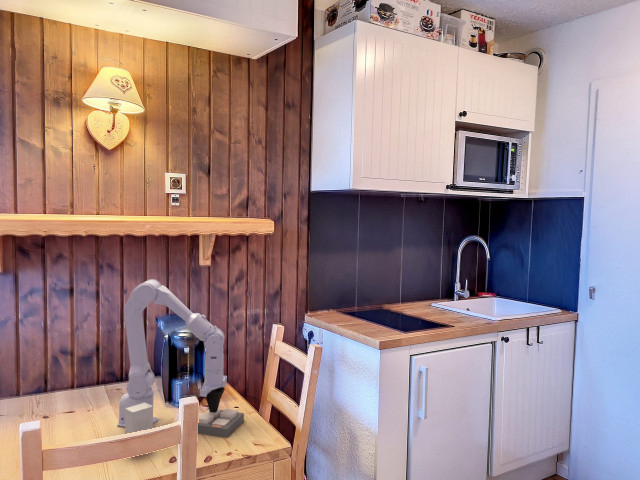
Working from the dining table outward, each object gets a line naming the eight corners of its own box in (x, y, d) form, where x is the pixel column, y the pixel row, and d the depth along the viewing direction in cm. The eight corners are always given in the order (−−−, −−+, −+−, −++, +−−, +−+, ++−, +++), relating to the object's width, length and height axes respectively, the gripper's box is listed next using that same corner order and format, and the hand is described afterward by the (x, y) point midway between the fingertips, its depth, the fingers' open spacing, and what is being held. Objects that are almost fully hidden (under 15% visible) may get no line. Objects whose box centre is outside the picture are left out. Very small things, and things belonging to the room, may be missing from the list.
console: (188, 431, 140) (188, 422, 140) (208, 415, 152) (208, 407, 152) (226, 437, 137) (226, 428, 137) (243, 420, 149) (243, 412, 149)
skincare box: (144, 444, 132) (145, 401, 132) (152, 449, 129) (153, 405, 129) (123, 451, 127) (124, 407, 127) (132, 457, 125) (132, 412, 124)
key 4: (220, 419, 145) (220, 413, 145) (225, 414, 149) (226, 408, 149) (232, 421, 144) (232, 415, 144) (237, 416, 148) (237, 410, 148)
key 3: (211, 430, 140) (211, 423, 140) (217, 424, 144) (218, 418, 144) (224, 431, 139) (224, 425, 139) (230, 426, 143) (230, 419, 143)
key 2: (204, 419, 147) (204, 413, 147) (210, 414, 151) (210, 408, 151) (215, 421, 146) (216, 414, 146) (221, 416, 150) (221, 409, 150)
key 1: (195, 424, 142) (195, 417, 141) (202, 419, 145) (202, 412, 145) (207, 426, 141) (207, 419, 140) (213, 421, 144) (213, 414, 144)
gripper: (215, 377, 140) (214, 422, 140) (235, 363, 154) (234, 404, 154) (193, 374, 141) (192, 419, 142) (216, 361, 155) (215, 402, 156)
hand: (213, 411), depth 148 cm, fingers closed, pressing on key 2
